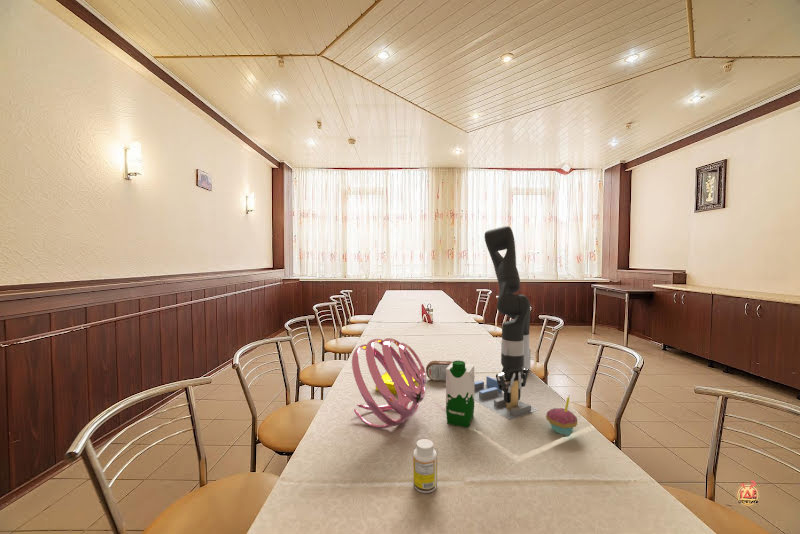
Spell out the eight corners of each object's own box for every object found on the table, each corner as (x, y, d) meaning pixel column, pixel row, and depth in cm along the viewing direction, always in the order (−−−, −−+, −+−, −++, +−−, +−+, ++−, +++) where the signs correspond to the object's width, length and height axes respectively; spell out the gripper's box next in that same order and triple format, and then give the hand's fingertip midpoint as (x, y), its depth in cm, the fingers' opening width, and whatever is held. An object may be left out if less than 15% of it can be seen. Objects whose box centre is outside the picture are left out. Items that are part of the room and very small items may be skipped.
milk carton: (443, 424, 106) (443, 362, 105) (451, 412, 114) (451, 355, 113) (470, 430, 102) (470, 366, 101) (476, 417, 110) (476, 358, 110)
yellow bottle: (511, 404, 117) (511, 371, 117) (520, 409, 114) (521, 375, 113) (503, 407, 115) (503, 373, 115) (512, 411, 112) (512, 377, 111)
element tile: (373, 391, 133) (373, 379, 132) (389, 378, 146) (389, 368, 146) (408, 397, 127) (408, 385, 127) (421, 383, 140) (421, 372, 140)
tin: (460, 380, 144) (460, 360, 143) (461, 382, 140) (461, 363, 140) (426, 378, 145) (425, 360, 145) (425, 381, 142) (425, 362, 142)
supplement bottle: (422, 474, 81) (422, 434, 81) (441, 484, 78) (441, 442, 77) (408, 487, 77) (408, 444, 77) (427, 498, 73) (427, 453, 73)
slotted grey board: (485, 386, 136) (485, 374, 136) (538, 412, 113) (538, 398, 113) (458, 393, 129) (458, 381, 129) (509, 422, 106) (509, 407, 106)
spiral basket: (311, 366, 104) (381, 320, 99) (353, 361, 129) (409, 324, 125) (349, 455, 94) (428, 409, 89) (385, 431, 119) (448, 394, 115)
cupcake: (574, 428, 103) (575, 390, 102) (579, 443, 95) (580, 402, 94) (544, 424, 106) (545, 387, 105) (547, 437, 98) (547, 398, 97)
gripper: (518, 346, 121) (517, 392, 121) (489, 352, 114) (489, 401, 114) (535, 351, 114) (535, 400, 115) (506, 357, 107) (505, 409, 108)
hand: (512, 400), depth 114 cm, fingers closed on yellow bottle, 4 cm apart
